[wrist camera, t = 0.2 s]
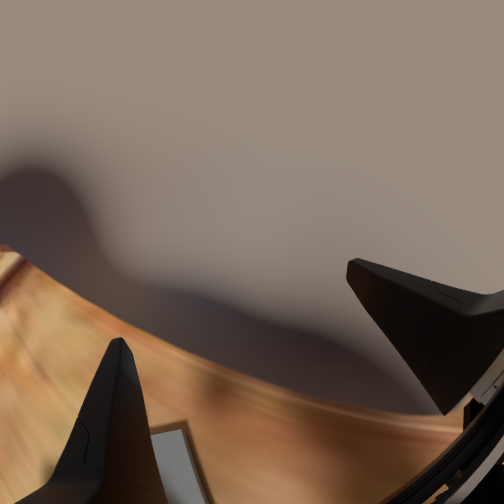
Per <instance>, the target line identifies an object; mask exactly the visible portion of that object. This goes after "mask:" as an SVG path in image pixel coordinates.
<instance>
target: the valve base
mask: <svg viewBox="0 0 504 504" xmlns="http://www.w3.org/2000/svg"><path fill="white" fill-rule="evenodd" d="M151 440H152V445H153V449H154V453H155V457H156V461H157V465H158V469H159V473H160V476H161V480H162V484H163V487H164V490H165V494H166V497H167V500H168V503H169V504H209V502H208V500H207V497H206V494H205V492H204V489H203V486H202V483H201V480H200V478H199V475H198V472H197V469H196V466H195V463H194V460H193V456H192V453H191V450H190V447H189V443H188V440H187V437H186V434H185V433H184V432H183V431H182V430H181V429H179V430H174V431H170V432H165V433H160V434H155V435H151Z"/></svg>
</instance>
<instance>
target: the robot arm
mask: <svg viewBox="0 0 504 504" xmlns="http://www.w3.org/2000/svg"><path fill="white" fill-rule="evenodd" d="M346 279H347V282H348V284H349V285H350V287H351V288H352V290H353V291H354V293H355V294H356V296H357V298H358V299H359V300H360V302H361V304H362V305H363V306H364V308H365V310H366V311H367V312H368V314H369V315H370V316H371V317H372V319H373V320H374V321H375V322H376V324H377V325H378V326H379V328H380V329H381V330H382V331H383V333H384V334H385V335H386V336H387V338H388V339H389V341H390V342H391V343H392V344H393V346H394V347H395V348H396V350H397V351H398V352H399V354H400V355H401V356H402V358H403V359H404V360H405V362H406V363H407V364H408V366H409V367H410V369H411V370H412V371H413V373H414V374H415V375H416V377H417V378H418V379H419V380H420V382H421V384H422V385H423V387H424V388H425V390H426V391H427V392H428V394H429V395H430V396H431V398H432V400H433V401H434V403H435V404H436V405H437V407H438V408H439V410H440V411H441V413H442V414H443V415H444V416H445V415H446V414H448V413H449V412H450V411H451V410H452V409H453V408H454V407H455V406H456V405H457V404H458V403H459V402H460V400H461V399H462V398H463V397H464V396H465V395H466V394H467V393H468V392H469V393H470V394H471V395H472V396H473V398H472V399H471V400H470V402H469V403H468V404H467V405H466V406H465V407H464V421H463V432H462V433H461V434H460V435H459V436H458V437H457V438H456V439H455V440H454V441H453V442H452V443H451V445H450V446H448V447H447V448H446V449H445V450H444V451H443V452H442V453H441V454H440V455H439V456H438V457H437V458H436V459H435V460H434V461H433V462H431V463H430V464H429V465H428V466H427V467H426V468H425V469H423V470H422V471H421V472H420V473H419V474H417V475H416V476H415V477H414V478H413V479H411V480H410V481H409V482H407V483H406V484H405V485H404V486H402V487H401V488H400V489H398V490H397V491H395V492H394V493H393V494H391V495H390V496H388V497H387V498H385V499H384V500H383V501H381V502H380V503H378V504H422V503H423V502H425V501H426V500H427V499H428V498H429V497H430V496H432V495H433V494H434V493H435V492H436V491H437V490H438V489H439V488H441V487H442V486H443V485H444V484H446V485H447V487H448V488H449V489H448V490H446V491H445V492H443V493H441V494H439V495H438V496H437V497H435V499H436V500H435V501H434V502H433V503H431V504H504V465H503V464H502V463H503V462H504V290H502V291H499V292H497V293H494V294H487V295H485V294H479V293H475V292H470V291H466V290H463V289H458V288H455V287H451V286H447V285H444V284H440V283H437V282H435V281H431V280H428V279H425V278H422V277H418V276H415V275H412V274H409V273H405V272H402V271H399V270H396V269H393V268H389V267H386V266H383V265H379V264H376V263H373V262H369V261H366V260H363V259H360V258H355V259H352V260H350V261H349V262H348V266H347V274H346ZM14 504H169V503H168V500H167V497H166V494H165V490H164V487H163V484H162V480H161V476H160V473H159V469H158V465H157V461H156V457H155V453H154V449H153V445H152V440H151V435H150V431H149V426H148V420H147V415H146V410H145V404H144V398H143V393H142V389H141V385H140V381H139V377H138V373H137V369H136V365H135V361H134V357H133V354H132V352H131V350H130V348H129V347H128V345H127V344H126V342H125V340H124V339H123V338H122V337H119V338H115V339H112V340H111V341H110V343H109V345H108V348H107V350H106V352H105V354H104V356H103V358H102V360H101V362H100V365H99V367H98V369H97V371H96V374H95V376H94V378H93V380H92V383H91V385H90V387H89V390H88V392H87V394H86V397H85V399H84V402H83V404H82V407H81V409H80V412H79V414H78V417H77V419H76V422H75V424H74V427H73V429H72V432H71V434H70V437H69V439H68V441H67V444H66V446H65V448H64V450H63V452H62V454H61V457H60V459H59V461H58V463H57V465H56V468H55V470H54V472H53V474H52V476H51V478H50V479H49V481H48V482H47V483H46V484H45V485H44V486H42V487H41V488H39V489H38V490H36V491H35V492H33V493H31V494H30V495H28V496H26V497H25V498H23V499H21V500H20V501H18V502H16V503H14Z"/></svg>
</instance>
